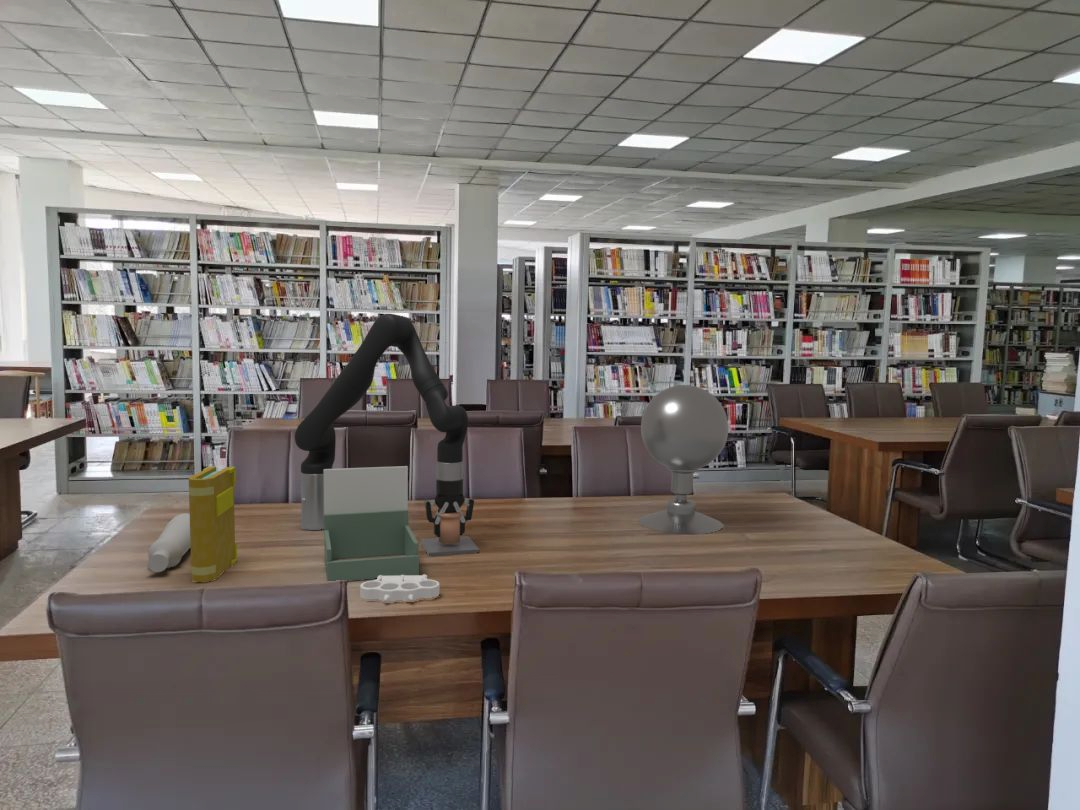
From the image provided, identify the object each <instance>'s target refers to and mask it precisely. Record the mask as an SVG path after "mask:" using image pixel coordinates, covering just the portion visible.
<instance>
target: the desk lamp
mask: <svg viewBox="0 0 1080 810" xmlns="http://www.w3.org/2000/svg"><path fill="white" fill-rule="evenodd" d="M640 434H641V439H642V443H643V444H644V447H645V449H646V451H647V452H648V454H649V455H650V456H651V457H652V458H653V459H654V460H655V461H656V462H658V463H659V464H660V465H662V466H664V467H666V469H667V470H669V471H671V481H670V492H671V493H673V494H675V497H673V498H670V499H669V500H667V503H666V508H665V509H663V510H659V511H656V512H653V513H649V514H645V515H643V516H640V517H639V518H638V520H637V522H638V524H639V525H641V526H643V527H645V528H646V529H649V530H654V531H657V532H662V533H668V534H678V535H704V534H705V533H707V534H712V533H711V532H713V533H716V532H715V531H717V532H719V531H718V530H720V529H721V528H722V526H723V525H724V523H723V524H722V523H721V522H722V521H720V520H718V519H716V518H713V517H711V516H709V515H705V514H704V513H701V512H699V511H696V509H697V508H696V507H697V505H696V502H695V501H694V500H692V499H689V498H687V497H688V495H690V494H692V493H693V491H694V490H693V488H694V473H695V472H698V471H699V470H700V469H702V468H704V467H707V466H708V465H709V464H711V463H712V462H714V461H715V460H716V459H717V458H718V456H719V455H721V453H722V451H723V450H724V448H725V445H726V444H727V441H728V437H729V436H728V435H729V419H728V416H727V413H726V411H725V409H724V407H723V405H722V404H721V402H720V401H719V399H717V398H716V396H714V395H713V394H712V393H710V392H709V391H708V390H706V389H704V388H701V387H699V386H696V385H690V384H680V385H674V386H671V387H667V388H666V389H663V390H661V391H660V392H658V393H657V394H656V395H655V396H654V397H652V399H651V400H650V401H649V402H648V403H647V405H646V406H645V408H644V411H643V413H642V417H641V423H640ZM720 531H721V530H720ZM705 535H706V534H705Z"/></svg>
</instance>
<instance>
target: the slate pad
mask: <svg viewBox="0 0 1080 810" xmlns="http://www.w3.org/2000/svg"><path fill="white" fill-rule="evenodd" d="M421 543H422V544H421ZM420 544H421V545H423V546H422V548H423V550H424V551H425V552H427V553H426V554H427V556H428V557H429V556H431V557H439V556H438V555H444V556H451V555H450V554H457V555H464V554H463V553H470V554H478V553H477V552H479V553H480V548H479V547H478V546H477V545H476V544H475V542H474V541H473V539H471V538H470V536H469V535H462V536H460V541H459V542H457V543H452V544H446V543H441V542H439V537H433V538H432V537H431V538H420ZM475 552H476V553H475Z"/></svg>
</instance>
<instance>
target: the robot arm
mask: <svg viewBox="0 0 1080 810" xmlns="http://www.w3.org/2000/svg"><path fill="white" fill-rule="evenodd" d="M390 347H394V348H398V350H399V351H400V352H401V353H402V354H403V356H404V357H405V358H406V361H407V362H408V365H409V369H410V374H411V375H410V376H411V379H412V382H413V384H414V386H415V389H416V390H417V392H418V393H419V395H420V397H421V398H422V400H423V401H424V403H425V406H426V410H427V413H428V416H429V419H430V423H431V424H432V426H433V427H434V428H435V429H436V430H437V431H438V432H441V433H445V436H444V438H443V439H442V440H439V442H438V444H437V450H436V451H437V452H436V457H437V459H436V470H435V497H434V499H430V500H428V499H425V501H424V509H425V514H426V519H427V521H428V522H429V523H432V524H433V534H434V535H435V536H436V538H439V537H440V524H439V522H440V514H444V513H456V512H457V513H461V517H460V536H464V534H465V531H466V528H465V527H466V522H468V521H471V520H472V518H473V511H474V505H475V500H474V499H473V498H472V497H469V498H468V497H464V465H463V463H464V462H463V459H464V458H463V451H464V450H463V446H464V443H465V439H466V435H467V431H468V427H469V416H468V413H467V411H466V409H465V408H464V407H463V406H461V405H447V403H446V399H447V398H448V396H449V392H448V390H447V388H446V387H445V385H444V383H443V382H442V380H441V378H440V377H439V375H438V373H437V372H436V371H435V369H434V366H433V365H432V363H431V361H430V360H429V358H428V356H427V353H426V352H425V349H424V347H423V344H422V342H421V340H420V337H419V335H418V332H417V330H416V328H415V326H414V324H413V323H412V320H410V319H409V318H408V317H406V316H404V315H400V314H399V315H398V314H393V313H384V314H381V315H380V316H378V317H377V318H376V319H375V321H374V322H373V323H372V325H371V327H370V328H369V331H368V332H367V334H366V335H365V336H364V338H363V341H362V343H360V345H359V347H358V348H357V350H356V351H355V353H354V354H353V356H351V359H350V360H349V361H348V363H347V364H346V365H345V366H344V368H343V369H342V370H341V372H340V373H339V374H338V375H337V377H336V378H335V380H334V381H333V383H332V384H331V385H330V387H329V388H328V389H327V391H326V392H325V393H324V395H323V397H322V398H321V399H320V400H319V402H318V403H317V405H316V406H315V407H314V408H313V409H312V411H310V413H309V414H307V416H306V417H305V418H304V419H303V420H302V421H301V422H300V423H299V425H297V428H296V429H295V432H294V443H295V444H296V446H297V448H299V450H302V451H305V452H308V454H307V456H306V458H305V459H304V460H303V461H302V463H301V464H300V484H301V485H300V495H301V496H300V499H301V500H300V502H301V506H300V507H301V508H300V510H301V511H300V513H301V515H300V516H301V530H307V531H318V530H319V531H320V530H321V529H322V530H324V469H333V465H334V463H335V459H336V440H337V439H336V430H335V427H334V425H333V423H335V422H336V420H338V418H340V417H341V416H342V415H344V414H345V413H346V412H347V411H349V410H351V409H352V408H353V407H354V406H355V405H357V403H359V402H360V400H361V399H362V398H363V397H364V395H365V394H366V392H368V391H369V389H370V387H371V385H372V383H373V380H374V377H375V370H376V366H377V363H378V362H379V360H380V359H381V357H382V356H383V355H384V353H385V352H386V351H387V350H388V349H389V348H390ZM464 504H465V506H466V511H465V515H464V514H463V512H462V510H461V507H462V506H463V505H464ZM434 505H435V506H437V510H436V512H435V513H436V514H435V516H434V517H433V514H432V513H433V511H432V509H433V508H434ZM322 530H321V531H322Z"/></svg>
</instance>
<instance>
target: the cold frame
mask: <svg viewBox="0 0 1080 810" xmlns="http://www.w3.org/2000/svg"><path fill="white" fill-rule="evenodd" d="M408 476H409V466H408V465H404V466H403V465H401V466H375V467H373V466H372V467H349V468H347V467H345V468H332V469H324V529H323V535H324V536H323V537H324V538H323V539H324V541H323V542H324V543H323V544H324V546H323V547H324V550H323V551H324V564H325V565H324V566H326V567H325V573H326V574H327V575H326V580H327V581H336V580H347V581H348V582H350V581H349V580H360V581H363V580H362V579H372V580H375V579H374V578H377V577H378V576H379V575H382V576H400V575H420V556H419V542H418V540H417V538H416V537H415V534H414V533H413V531H412V529H411V528H410V525H409V509H408V508H409V491H408V490H409V488H408V487H409V479H408V478H409V477H408ZM384 555H385V556H387V557H385V556H384ZM395 555H396V556H395ZM397 555H398V556H397ZM399 555H400V556H399ZM369 556H370V557H371V558H370V557H369ZM381 556H384V557H381ZM355 557H357V558H360V559H357V558H355ZM367 557H369V558H367ZM372 557H373V558H372ZM343 558H344V559H346V560H344V559H343ZM354 558H355V559H354ZM342 559H343V560H342Z"/></svg>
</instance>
